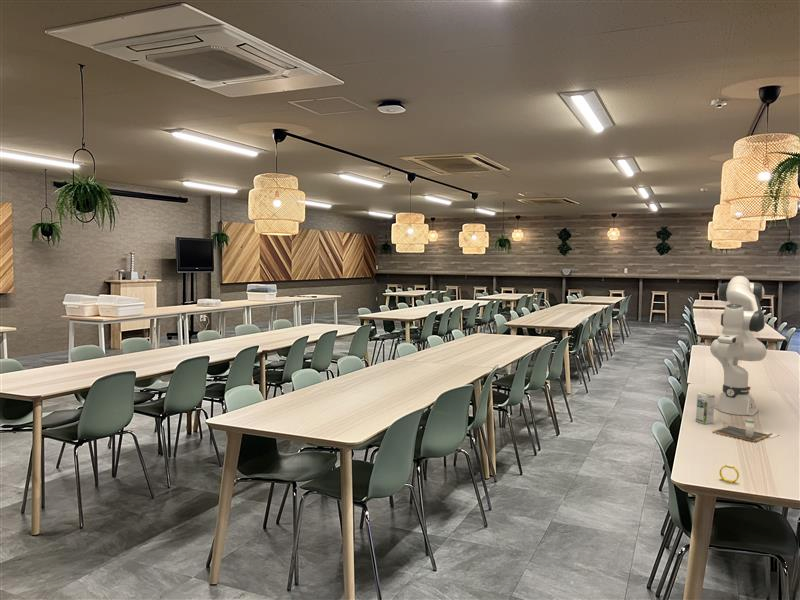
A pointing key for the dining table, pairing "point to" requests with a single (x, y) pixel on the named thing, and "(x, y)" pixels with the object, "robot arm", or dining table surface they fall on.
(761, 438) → the brown slatted mat
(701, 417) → the syrup box
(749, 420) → the small white bottle
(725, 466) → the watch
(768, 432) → the word card
